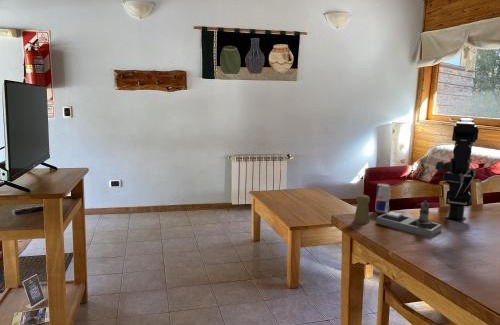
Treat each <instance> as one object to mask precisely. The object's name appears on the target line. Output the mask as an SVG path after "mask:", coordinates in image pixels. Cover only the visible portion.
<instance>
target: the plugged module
mask: <svg viewBox="0 0 500 325" xmlns="http://www.w3.org/2000/svg"><path fill="white" fill-rule="evenodd" d="M403 216H404V214H403V213H401V212H395V211H390V213H387V215H386V217H385V219H388V220H392V221H397V222H402V221H403Z"/></svg>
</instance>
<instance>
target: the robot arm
mask: <svg viewBox="0 0 500 325" xmlns="http://www.w3.org/2000/svg"><path fill="white" fill-rule="evenodd" d="M455 123H456V124H453V128H452V129H453V131H452V138H451V141H452V142H454V147H453V151H452V154H453V157H451V158H450V159H449V160H450V161H446V162H444V161H443V160H441V161H438V162H436V164H435V170H437V173H441V172H445V173H443V174H442V180H443V181H444V182H445V183H447V185H448V187H449V188H448V189H447V190H446V198H445V204H446V205H449V206H448V213H447V215H445V217H444V219H448V220H450V221H456V222H462V221H465V220H466V219H467V217H466V216H464V215H465V207H466V208H469V207H471V203H472V202H471V201H472V195H471V192H470V191H469V186H470V184H471V183H472V181H473V180H474V179H475V176H476V175H477V170H476V169H475V167H470V166H471V163H472V161H473V158H471V157H472V148H473V146H474V143H476V141H478V139H479V138H478V137H479V127H478V125H476V122H474V119H472V118H467V117H466V118H465V117H463V118H462V117H461V118H460V119H459V121H457V122H455Z"/></svg>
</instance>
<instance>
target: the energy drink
mask: <svg viewBox="0 0 500 325" xmlns="http://www.w3.org/2000/svg"><path fill="white" fill-rule="evenodd" d="M376 185H377V186H376V194H375V206H374V207H375V209H374V210H375V212H377V213H380V214H385V213H387V212H389V204H390V202H389V201H390V191H391V187H390V186H391V185H390V184H387V183H377V184H376Z"/></svg>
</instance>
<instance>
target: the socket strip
mask: <svg viewBox="0 0 500 325" xmlns="http://www.w3.org/2000/svg"><path fill="white" fill-rule="evenodd" d="M390 212H391V211H390ZM390 212H389V211H388V212H387V213H390ZM387 213H382V214H380V215H378V216H376V221H375V222H376V223H375V224H378V225H381V226H384V227H388V228H389V227H390V228H393V229H395V230H396V229H397V230H399V231H403V232H408V233H412V234H416V235H421V236H422V237H426V238H427V237H428V238H432V237H434V236H436V235H437V234H439V233H441V232H442V229H443V228H442V225H443V224H440V223H436V222H433V221H431V222H432V223H431V225H430V227H429V228H427V229H425V228H421V227H418V226H417V225H416V221H415V220H416V219H417V218H415V217H412V216H411V217H410V216H407V215H403V221H402V222H397V221H392V220H388V219H385V217H386V215H387Z"/></svg>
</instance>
